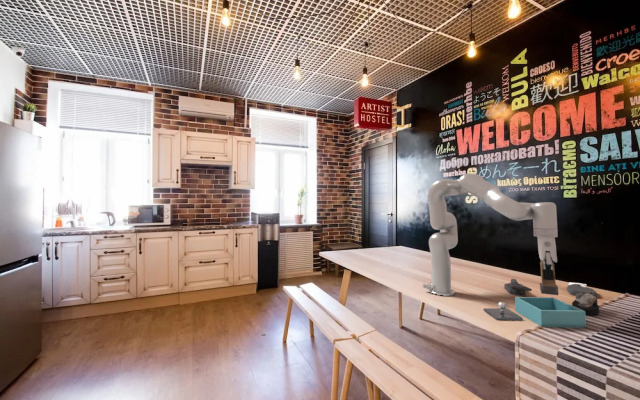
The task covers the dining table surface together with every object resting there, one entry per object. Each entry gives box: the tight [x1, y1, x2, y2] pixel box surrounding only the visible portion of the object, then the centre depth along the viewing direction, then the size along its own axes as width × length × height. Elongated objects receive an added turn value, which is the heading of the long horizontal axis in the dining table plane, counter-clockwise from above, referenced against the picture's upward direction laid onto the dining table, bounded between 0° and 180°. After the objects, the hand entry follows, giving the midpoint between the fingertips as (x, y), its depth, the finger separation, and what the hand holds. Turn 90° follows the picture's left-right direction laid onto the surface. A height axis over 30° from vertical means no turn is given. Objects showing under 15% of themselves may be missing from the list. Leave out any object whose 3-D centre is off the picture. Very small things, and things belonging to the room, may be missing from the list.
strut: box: [539, 260, 559, 296], centre depth 111 cm, size 5×5×12 cm
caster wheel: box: [571, 291, 600, 316], centre depth 118 cm, size 7×11×10 cm
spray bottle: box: [566, 282, 598, 299], centre depth 145 cm, size 3×11×24 cm
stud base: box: [483, 301, 524, 321], centre depth 115 cm, size 10×10×6 cm
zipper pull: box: [503, 278, 533, 297], centre depth 141 cm, size 9×7×25 cm
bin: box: [514, 296, 587, 328], centre depth 111 cm, size 16×16×6 cm
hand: (547, 277), depth 111 cm, fingers closed on strut, 4 cm apart
